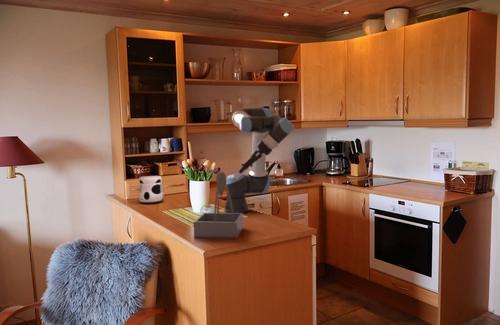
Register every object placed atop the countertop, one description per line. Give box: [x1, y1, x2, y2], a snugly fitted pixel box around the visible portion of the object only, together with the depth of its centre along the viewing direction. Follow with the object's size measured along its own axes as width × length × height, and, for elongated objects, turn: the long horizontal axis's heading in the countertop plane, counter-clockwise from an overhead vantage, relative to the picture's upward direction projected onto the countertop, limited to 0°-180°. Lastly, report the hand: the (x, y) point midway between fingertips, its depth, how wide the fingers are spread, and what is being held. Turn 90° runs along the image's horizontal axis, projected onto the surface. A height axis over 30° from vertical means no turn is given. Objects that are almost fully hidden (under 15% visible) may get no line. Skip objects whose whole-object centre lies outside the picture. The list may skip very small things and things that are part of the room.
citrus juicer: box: [213, 171, 235, 222], centre depth 209 cm, size 11×10×30 cm
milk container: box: [138, 175, 165, 204], centre depth 296 cm, size 17×17×18 cm
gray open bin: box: [193, 212, 244, 240], centre depth 211 cm, size 20×21×8 cm
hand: (237, 175), depth 207 cm, fingers open, 13 cm apart
